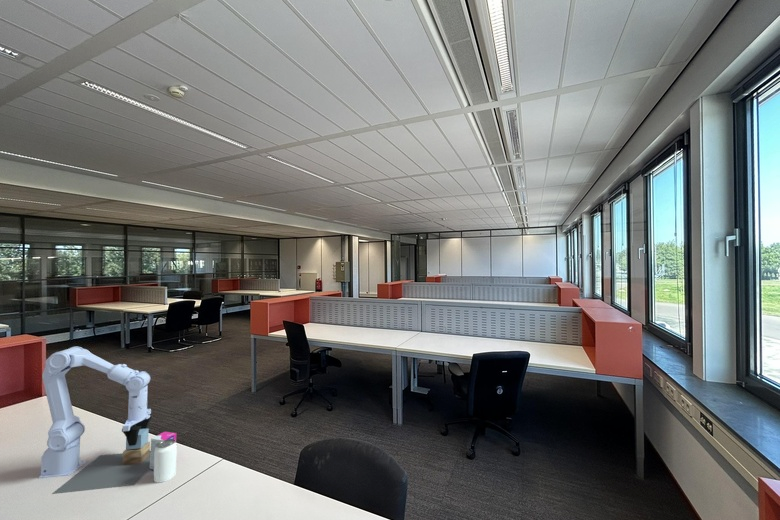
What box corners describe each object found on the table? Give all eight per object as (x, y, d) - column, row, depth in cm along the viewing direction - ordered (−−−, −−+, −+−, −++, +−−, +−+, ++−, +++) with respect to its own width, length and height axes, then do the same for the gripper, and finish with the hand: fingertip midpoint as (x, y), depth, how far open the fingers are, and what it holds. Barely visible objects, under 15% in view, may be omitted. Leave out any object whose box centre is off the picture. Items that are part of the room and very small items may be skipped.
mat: (51, 494, 103) (51, 493, 103) (100, 456, 125) (100, 455, 125) (134, 485, 108) (134, 485, 108) (167, 449, 129) (167, 449, 129)
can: (180, 473, 114) (181, 440, 114) (162, 485, 108) (163, 449, 108) (167, 470, 116) (168, 436, 116) (149, 481, 110) (150, 446, 110)
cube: (125, 449, 119) (126, 436, 119) (133, 442, 124) (134, 429, 124) (140, 448, 120) (141, 434, 120) (148, 441, 125) (148, 428, 125)
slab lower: (122, 465, 118) (122, 458, 118) (132, 456, 124) (132, 449, 124) (140, 463, 119) (140, 456, 120) (149, 454, 125) (149, 448, 125)
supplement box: (162, 472, 115) (163, 440, 115) (148, 470, 116) (149, 438, 116) (176, 463, 120) (176, 432, 121) (163, 461, 122) (164, 430, 122)
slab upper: (122, 458, 118) (122, 451, 119) (132, 449, 124) (132, 443, 124) (140, 456, 120) (140, 450, 120) (149, 448, 125) (149, 441, 126)
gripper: (138, 412, 116) (137, 450, 116) (159, 397, 130) (158, 430, 130) (116, 414, 115) (115, 452, 114) (140, 398, 129) (139, 432, 129)
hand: (136, 441), depth 122 cm, fingers closed on cube, 5 cm apart
